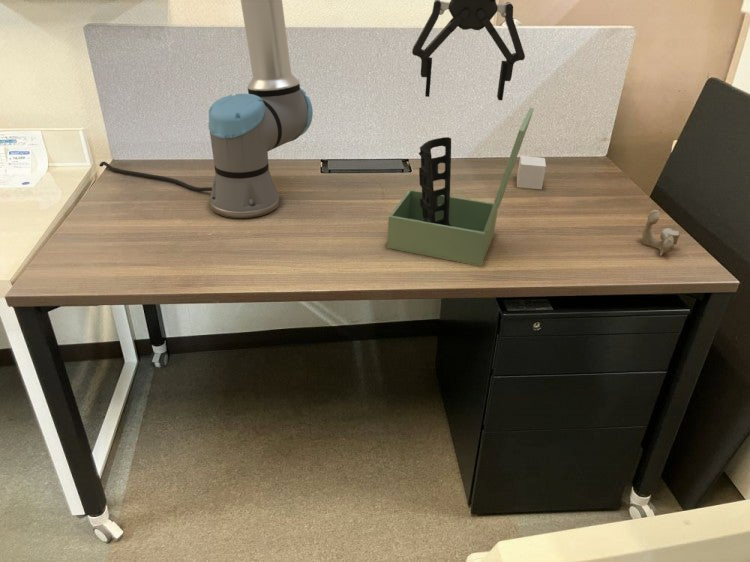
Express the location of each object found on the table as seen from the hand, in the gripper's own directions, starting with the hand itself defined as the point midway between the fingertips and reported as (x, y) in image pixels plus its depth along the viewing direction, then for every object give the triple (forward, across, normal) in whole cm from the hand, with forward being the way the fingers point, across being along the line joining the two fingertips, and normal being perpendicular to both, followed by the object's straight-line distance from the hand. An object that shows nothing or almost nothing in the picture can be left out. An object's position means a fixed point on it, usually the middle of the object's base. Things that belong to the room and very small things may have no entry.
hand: (463, 96), depth 114 cm
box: (+28, -2, -5) cm, 29 cm away
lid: (+11, +9, -8) cm, 16 cm away
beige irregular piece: (+28, +44, -3) cm, 52 cm away
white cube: (+29, +21, +28) cm, 45 cm away
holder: (+28, -3, -5) cm, 29 cm away
